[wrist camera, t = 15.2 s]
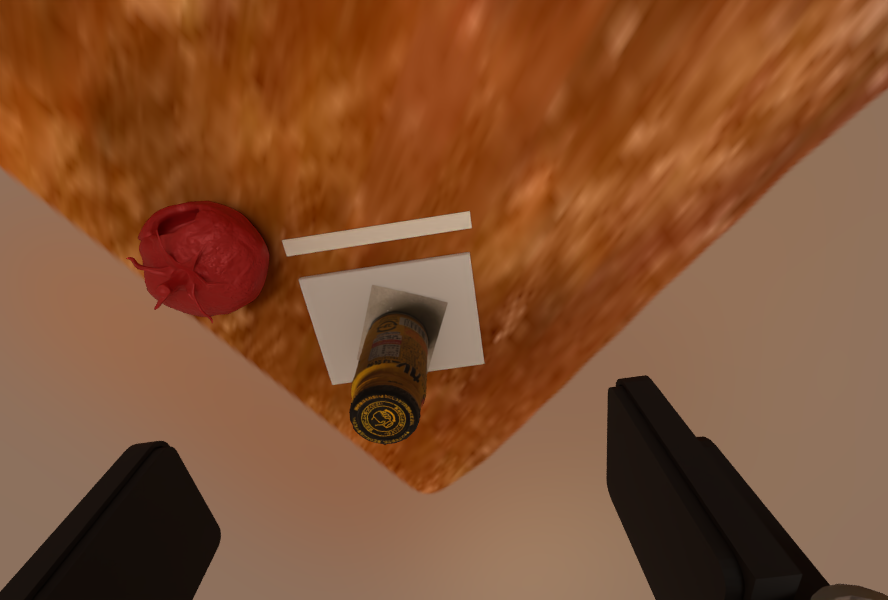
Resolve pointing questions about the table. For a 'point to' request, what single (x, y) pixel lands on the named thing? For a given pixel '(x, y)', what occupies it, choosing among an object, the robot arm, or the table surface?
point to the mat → (346, 301)
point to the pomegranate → (202, 258)
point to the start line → (377, 233)
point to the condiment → (394, 363)
